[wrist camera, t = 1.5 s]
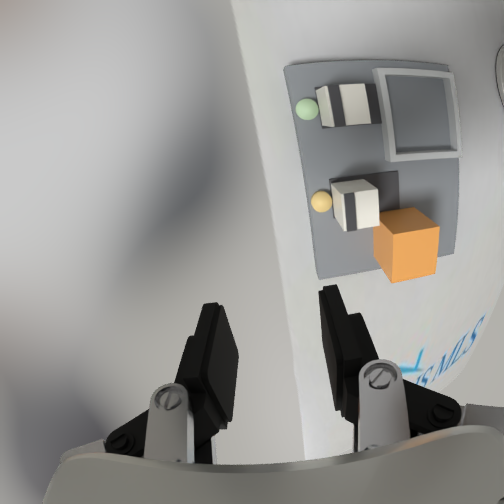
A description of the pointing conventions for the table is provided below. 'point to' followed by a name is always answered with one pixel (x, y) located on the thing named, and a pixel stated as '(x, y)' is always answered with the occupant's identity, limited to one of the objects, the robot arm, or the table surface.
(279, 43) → the table surface
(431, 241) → the cap
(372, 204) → the cube with dark stripe
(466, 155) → the table surface
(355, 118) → the toggle
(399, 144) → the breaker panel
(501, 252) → the table surface
